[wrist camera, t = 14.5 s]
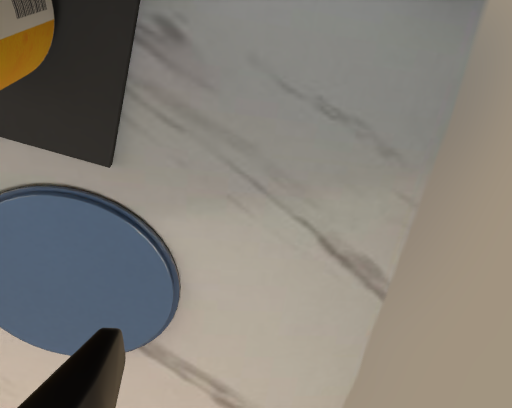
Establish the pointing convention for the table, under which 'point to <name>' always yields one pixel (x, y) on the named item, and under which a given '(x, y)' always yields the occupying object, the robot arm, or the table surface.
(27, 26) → the beer can
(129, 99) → the table surface
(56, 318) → the plate
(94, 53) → the mat
